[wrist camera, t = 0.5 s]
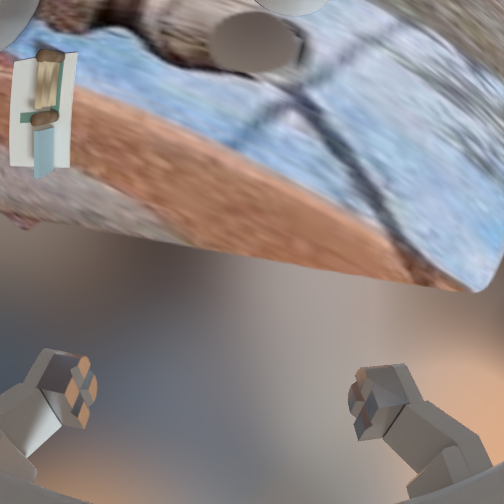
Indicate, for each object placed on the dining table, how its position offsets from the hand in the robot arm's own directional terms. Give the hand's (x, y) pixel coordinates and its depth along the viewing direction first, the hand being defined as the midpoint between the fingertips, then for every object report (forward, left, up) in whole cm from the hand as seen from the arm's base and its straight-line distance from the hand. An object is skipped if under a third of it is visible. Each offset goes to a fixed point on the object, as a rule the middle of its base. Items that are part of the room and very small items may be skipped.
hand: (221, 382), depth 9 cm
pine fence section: (-9, -33, -46) cm, 57 cm away
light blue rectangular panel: (+3, -33, -45) cm, 56 cm away
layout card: (-4, -37, -46) cm, 59 cm away
